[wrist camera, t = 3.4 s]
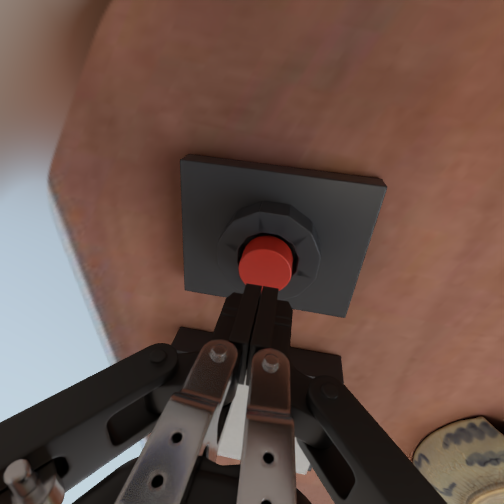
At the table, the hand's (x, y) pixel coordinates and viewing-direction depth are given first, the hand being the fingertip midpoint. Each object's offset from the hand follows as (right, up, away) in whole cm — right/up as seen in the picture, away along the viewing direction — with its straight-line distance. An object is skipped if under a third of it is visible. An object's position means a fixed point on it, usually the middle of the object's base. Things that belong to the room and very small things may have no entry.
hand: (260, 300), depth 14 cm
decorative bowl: (+22, -16, +13) cm, 31 cm away
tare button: (+1, +2, +3) cm, 4 cm away
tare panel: (+1, +3, +5) cm, 6 cm away
